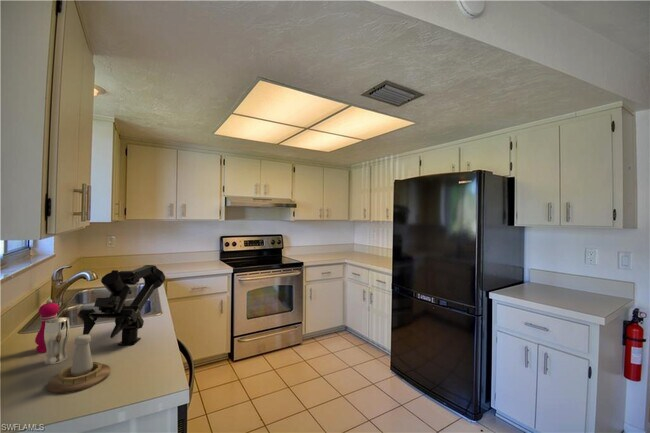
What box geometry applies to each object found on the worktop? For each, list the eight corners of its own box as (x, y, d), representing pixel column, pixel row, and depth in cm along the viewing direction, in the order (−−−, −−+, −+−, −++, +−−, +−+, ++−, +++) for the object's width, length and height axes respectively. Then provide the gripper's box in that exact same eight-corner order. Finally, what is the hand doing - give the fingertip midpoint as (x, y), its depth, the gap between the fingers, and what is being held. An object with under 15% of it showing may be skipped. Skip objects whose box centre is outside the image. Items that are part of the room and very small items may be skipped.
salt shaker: (94, 369, 101) (96, 331, 101) (90, 377, 96) (91, 337, 96) (73, 372, 98) (75, 333, 98) (67, 381, 93) (69, 340, 93)
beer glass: (48, 357, 110) (50, 317, 110) (71, 355, 113) (73, 316, 113) (38, 366, 104) (40, 324, 104) (62, 363, 106) (64, 322, 106)
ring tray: (71, 367, 103) (71, 359, 103) (119, 366, 106) (120, 357, 106) (32, 394, 88) (33, 384, 88) (91, 392, 90) (91, 382, 90)
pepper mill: (64, 345, 120) (66, 297, 121) (48, 353, 113) (50, 302, 113) (46, 345, 120) (48, 296, 120) (29, 353, 113) (31, 301, 113)
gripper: (82, 287, 109) (56, 328, 98) (134, 288, 111) (116, 327, 100) (95, 302, 117) (73, 341, 106) (144, 302, 119) (128, 341, 108)
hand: (97, 337), depth 105 cm, fingers open, 9 cm apart
